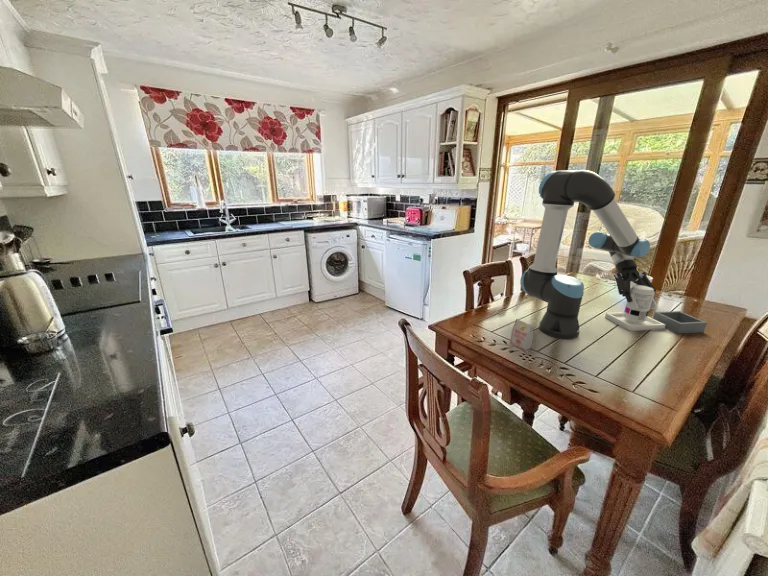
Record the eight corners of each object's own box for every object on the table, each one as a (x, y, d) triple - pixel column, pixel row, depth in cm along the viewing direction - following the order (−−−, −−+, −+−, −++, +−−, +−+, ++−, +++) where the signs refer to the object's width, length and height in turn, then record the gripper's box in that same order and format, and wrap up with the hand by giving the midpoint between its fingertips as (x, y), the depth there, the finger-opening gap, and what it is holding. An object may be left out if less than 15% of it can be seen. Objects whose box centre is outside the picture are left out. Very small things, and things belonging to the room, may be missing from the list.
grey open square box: (677, 333, 131) (680, 323, 129) (651, 321, 142) (654, 312, 141) (703, 332, 132) (707, 322, 130) (676, 320, 143) (679, 311, 142)
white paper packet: (516, 340, 126) (519, 318, 123) (531, 347, 121) (535, 324, 117) (510, 342, 125) (513, 320, 121) (524, 350, 119) (528, 326, 116)
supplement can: (618, 316, 142) (627, 285, 137) (631, 314, 145) (640, 283, 140) (636, 324, 135) (646, 291, 130) (650, 321, 137) (660, 289, 132)
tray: (629, 331, 133) (630, 326, 132) (604, 317, 146) (606, 312, 146) (664, 329, 134) (665, 324, 134) (636, 315, 148) (638, 311, 147)
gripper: (638, 266, 148) (659, 310, 139) (597, 267, 147) (615, 312, 137) (652, 257, 142) (675, 304, 132) (608, 259, 140) (628, 306, 130)
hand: (644, 308), depth 134 cm, fingers closed on supplement can, 8 cm apart
